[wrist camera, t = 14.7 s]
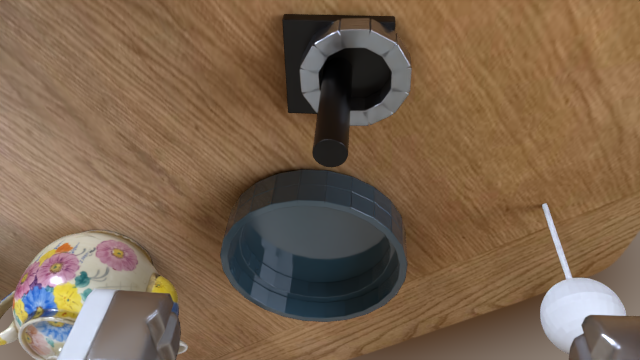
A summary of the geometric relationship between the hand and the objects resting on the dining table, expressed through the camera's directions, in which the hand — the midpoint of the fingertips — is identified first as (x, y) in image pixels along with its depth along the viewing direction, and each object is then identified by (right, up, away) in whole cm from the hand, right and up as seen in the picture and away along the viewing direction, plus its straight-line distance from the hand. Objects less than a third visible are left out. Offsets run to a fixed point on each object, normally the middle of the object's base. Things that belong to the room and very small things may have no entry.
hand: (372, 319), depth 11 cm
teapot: (-23, -5, +49) cm, 54 cm away
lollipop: (+20, +1, +40) cm, 44 cm away
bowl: (-1, -2, +44) cm, 44 cm away
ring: (+2, +11, +30) cm, 32 cm away
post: (0, +12, +31) cm, 33 cm away
